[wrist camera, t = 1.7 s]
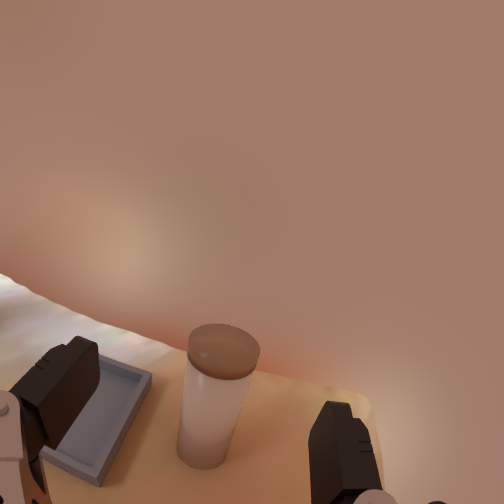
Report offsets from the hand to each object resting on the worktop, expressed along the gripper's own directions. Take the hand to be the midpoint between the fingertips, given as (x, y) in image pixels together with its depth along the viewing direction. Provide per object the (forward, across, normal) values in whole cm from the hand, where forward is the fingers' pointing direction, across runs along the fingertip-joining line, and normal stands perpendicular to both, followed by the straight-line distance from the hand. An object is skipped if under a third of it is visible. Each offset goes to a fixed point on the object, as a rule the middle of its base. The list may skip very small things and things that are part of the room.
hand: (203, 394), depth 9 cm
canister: (+11, 0, +20) cm, 23 cm away
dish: (+11, +13, +20) cm, 26 cm away
